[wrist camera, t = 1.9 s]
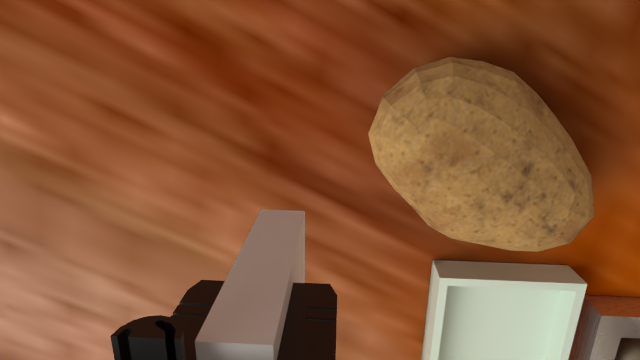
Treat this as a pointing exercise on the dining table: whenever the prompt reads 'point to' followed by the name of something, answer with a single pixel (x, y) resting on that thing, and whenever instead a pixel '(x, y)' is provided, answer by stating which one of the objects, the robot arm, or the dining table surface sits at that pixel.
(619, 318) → the collar
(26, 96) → the dining table surface
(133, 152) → the dining table surface
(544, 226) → the potato
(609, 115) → the dining table surface
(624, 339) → the dowel
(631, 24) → the dining table surface
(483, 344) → the tray
